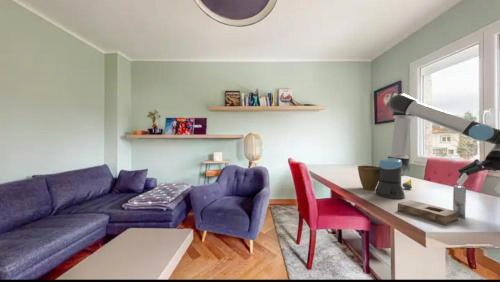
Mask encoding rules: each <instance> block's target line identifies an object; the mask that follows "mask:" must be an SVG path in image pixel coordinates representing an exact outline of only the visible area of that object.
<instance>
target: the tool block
mask: <svg viewBox="0 0 500 282" xmlns="http://www.w3.org/2000/svg"><path fill="white" fill-rule="evenodd" d="M397 212H400V213H403V214H406V215H410V216H413V217H415V218H420V219H421V220H426V221H429V222H432V223H436V224H438V225H442V226H447V225H451V224H452V223H456V222H458V221H459V218H458V212H457V211H453V209H450V208H449V209H448V208H445V207H441V206H436V205H433V204H428V203H426V202H425V203H424V202H421V201H416V200H412V199H409V200H405V201H401V202H398V203H397Z"/></svg>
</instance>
